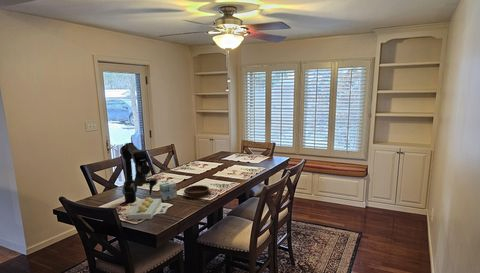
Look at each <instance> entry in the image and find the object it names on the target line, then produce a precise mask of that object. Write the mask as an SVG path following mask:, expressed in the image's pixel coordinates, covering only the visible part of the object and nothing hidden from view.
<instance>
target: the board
mask: <svg viewBox="0 0 480 273" xmlns="http://www.w3.org/2000/svg"><path fill="white" fill-rule="evenodd" d="M144 201H145V198H141V199H140V200H139V201H138V202H137V203H136V205H134V207H133V208H132V209H131V211H129V213H127V220H129V221H130V219H134V220H151V219H153V217H154V215H155V214H156V213H157V212H158V210H159V208H160V207H161V204H162V199H161V198H152V203H149V207H148V208H146V211H145V212H139V209H138V207H139V206H141V205H142V202H144Z"/></svg>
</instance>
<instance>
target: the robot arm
mask: <svg viewBox="0 0 480 273" xmlns="http://www.w3.org/2000/svg"><path fill="white" fill-rule="evenodd" d="M119 154H120V156H121V158H122V159H123V164H124V175H125V176H124V177H125V181H124V182H123V186H122V191H121V192H122V194H123V196H124V204H133V203H135V202H136V201H137V195H136V194H137V192H138V187H143V185H144V184H146V185H147V184H149V185H148V187H149V191H148V192H149V196H151V195H152V192H153V189H154V187H155V186H156V185H157V184H158V183H159V181H158V179H159V178H157V177H152V178H150V179H149V180H147V175H149V173H150V172H151V167H150V165H148V164H147V163H149V158H148V155H147V153H146V152H145V151H144V150H143V149H139V148H138V147H136V145H134V142H125V143H124V145H122V146H120V148H119ZM132 162H133V163H134V169H135V171H134V172H135V176H134V179H133V167H132V166H133V165H132Z"/></svg>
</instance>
